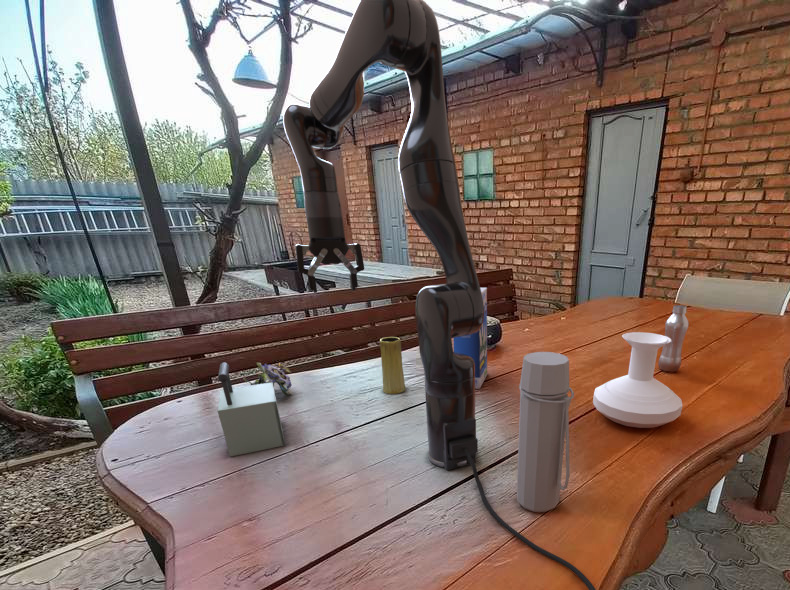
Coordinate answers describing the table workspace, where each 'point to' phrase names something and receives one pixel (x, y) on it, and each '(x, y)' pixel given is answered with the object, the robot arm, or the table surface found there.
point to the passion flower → (274, 377)
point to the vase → (392, 365)
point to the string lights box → (476, 346)
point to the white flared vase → (639, 388)
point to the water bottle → (543, 430)
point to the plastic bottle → (674, 339)
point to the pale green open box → (248, 416)
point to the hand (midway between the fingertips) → (334, 291)
